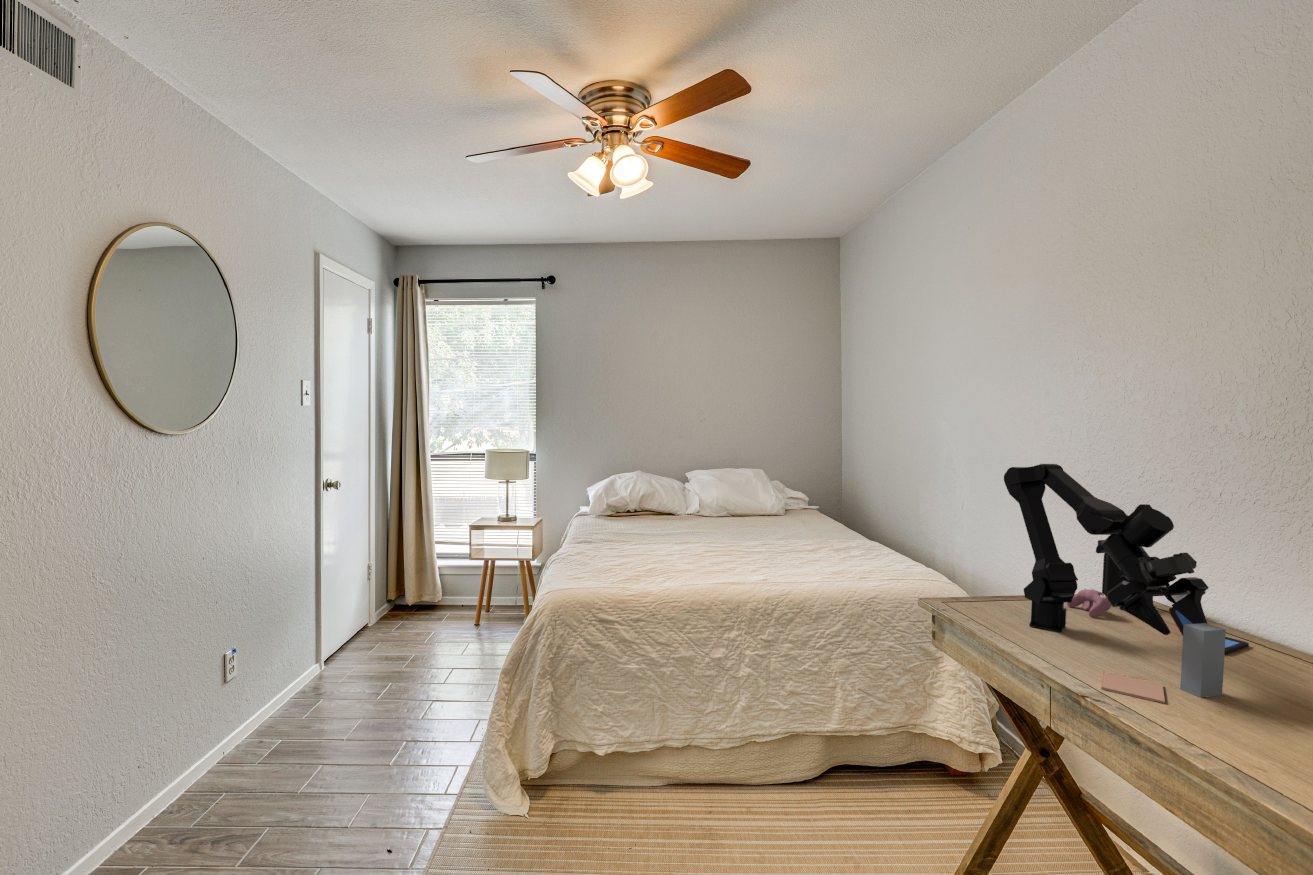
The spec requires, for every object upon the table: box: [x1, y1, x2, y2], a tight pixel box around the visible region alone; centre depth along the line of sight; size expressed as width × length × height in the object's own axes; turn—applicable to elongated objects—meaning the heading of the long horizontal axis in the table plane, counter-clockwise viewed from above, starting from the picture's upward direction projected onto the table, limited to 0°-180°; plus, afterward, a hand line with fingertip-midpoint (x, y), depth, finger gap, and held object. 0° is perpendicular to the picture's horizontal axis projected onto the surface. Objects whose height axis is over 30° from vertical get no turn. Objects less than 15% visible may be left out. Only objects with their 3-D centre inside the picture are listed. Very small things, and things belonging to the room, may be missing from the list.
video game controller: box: [1066, 587, 1113, 619], centre depth 160 cm, size 10×5×7 cm, turn 0°
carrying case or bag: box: [1101, 553, 1127, 596], centre depth 167 cm, size 11×3×15 cm, turn 64°
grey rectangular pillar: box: [1179, 623, 1227, 698], centre depth 113 cm, size 4×5×12 cm
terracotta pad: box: [1101, 671, 1166, 704], centre depth 115 cm, size 9×9×1 cm
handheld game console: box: [1168, 607, 1250, 656], centre depth 139 cm, size 12×11×7 cm
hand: (1187, 632), depth 116 cm, fingers open, 9 cm apart
